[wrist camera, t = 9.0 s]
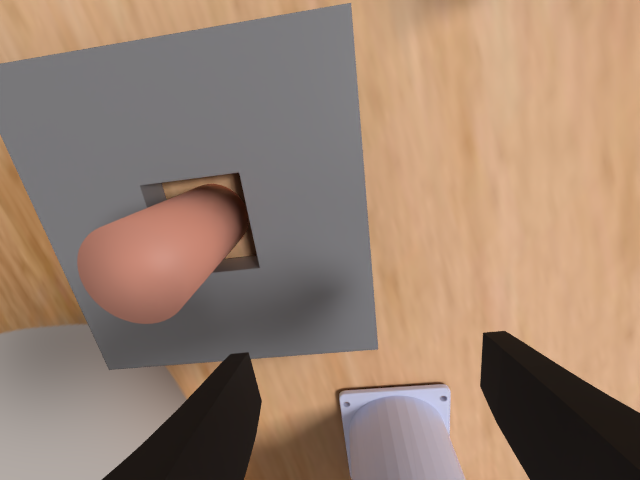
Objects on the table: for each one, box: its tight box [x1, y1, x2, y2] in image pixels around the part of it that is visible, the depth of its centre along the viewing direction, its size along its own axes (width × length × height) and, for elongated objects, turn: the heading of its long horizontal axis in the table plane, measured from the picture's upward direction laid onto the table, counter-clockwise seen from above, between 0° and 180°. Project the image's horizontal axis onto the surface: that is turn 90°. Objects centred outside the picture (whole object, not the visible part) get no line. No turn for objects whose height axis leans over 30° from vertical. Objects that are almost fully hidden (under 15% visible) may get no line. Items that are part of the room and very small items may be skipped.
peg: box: [77, 184, 248, 324], centre depth 14 cm, size 4×4×8 cm
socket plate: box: [0, 3, 378, 370], centre depth 17 cm, size 18×18×2 cm
